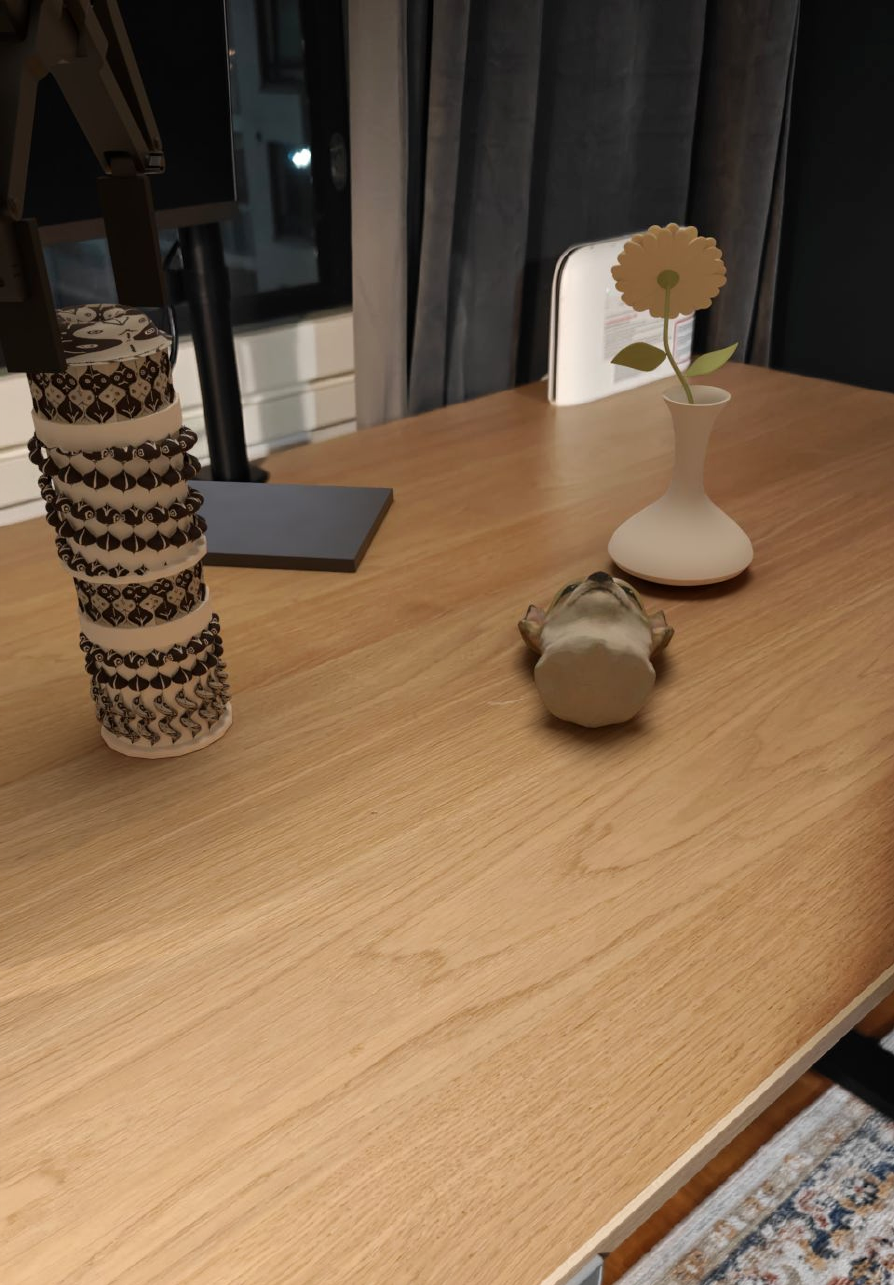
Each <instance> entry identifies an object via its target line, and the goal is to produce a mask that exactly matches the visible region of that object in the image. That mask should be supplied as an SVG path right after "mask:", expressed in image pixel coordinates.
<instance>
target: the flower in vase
mask: <svg viewBox="0 0 894 1285" xmlns="http://www.w3.org/2000/svg"><path fill="white" fill-rule="evenodd" d="M698 233H699V231H698V229H697V227H696V226H692V225H689V226H687V227H685V228H680V226H679V225H678V224H677V223H675V222H669V224H667V225H666V227H662V228H661V227H660V226H659V225H657V224H656V225H655V224H654V225H651V226H649V227H648V229H647V231H646V232H645V233H643V234H641V233H636V234H633V235H632V237H631V239H630V240H628V241H626V242H625V243H624V244H623V250H622V251H621V252H620V253H619V254H618V255H617V256H616V260H617V263H619V264H614V265H612V266H611V267H610V273H611V277H612V279H613V281H614V282H615V284H614V287H615V290H616V291H618V292H619V293H622V294H621V295H620V298H621V299H620V300H621V301H622V302H623V303H624V304H625V305H626V306H628V307H632V309H633V310H634V311H635V312H637V313H642V312H646V311H648V312H649V316H650V317H651V318H654V319H659V318H660V319H663V333H662V337H663V338H662V340H663V349H664V350H663V349H661V348H660V347H656V346H655V345H653V344H651V343H647V342H644V341H636V342H633V343H631V344H628V345H626V346H625V347H623V348H622V349H621V350H620V351H619V352H618V353H617V354H616V355H615V356H613V358H612V359H611V361H610V362H609V363H610V364H612V365H618V366H623V367H627V368H629V369H633V370H637V371H641V372H646V373H648V372H652V371H654V370H656V369H658V367H660V366H661V365H662V364H663V363H664V362H665V360H666V359H668V361H669V363H670V366H671V367H672V369H673V371H674V373H675V374H676V377H677V378H678V379H679V381H680V383H681V385H677V386H672V387H669V388H666V389H664V390H663V391H662V392H661V398H662V399H663V401H664V402H665V404H666V406H667V408H668V410H669V412H670V415H671V420H672V423H673V430H674V431H673V432H674V463H673V470H672V476H671V481H670V484H669V486H668V487H667V490H666V491H665V492H664V494H662V496H660V497H659V498H658V499H657V500H655V501H654V502H652V503H650V504H649V505H646V507H644V508H643V509H641V510H640V511H638V512H637V513H634V514H633V515H632V516H631V517H629V518H627V519H626V520H625V521H624V522H623V523H622V524H621V525H619V527H617V528H616V529H615V530H614V532H613V534H612V535H611V537H610V540H609V542H608V545H607V551H608V555H609V556H610V557H611V559H612V561H613V562H614V563H615V565H616V566H617V567H618V568H619V569H621V570H622V571H624V572H625V573H627V574H629V575H631V576H634V577H636V578H638V579H642V580H645V581H648V582H652V583H656V584H660V585H667V586H678V587H694V586H695V587H696V586H704V585H711V584H717V583H721V582H724V581H728V580H730V579H733V578H735V577H737V576H738V575H740V574H742V573H743V572H744V571H745V570H746V569H747V567H748V566H749V565H750V564H751V563H752V561H753V559H754V548H753V545H752V542H751V539H750V538H749V535H747V534H746V532H745V531H744V530H743V529H742V528H741V527H740V525H738V524H737V522H735V521H734V520H733V519H732V518H731V517H730V516H729V515H728V514H727V513H725V512H724V511H723V510H722V509H721V508H719V507H718V506H717V505H716V504H715V503H714V502H713V501H712V500H711V498H710V497H709V496H708V494H707V493H706V490H705V487H704V467H705V458H706V452H707V448H708V443H709V439H710V436H711V434H712V430H713V428H714V424H715V422H716V420H717V418H718V416H719V414H720V413H721V411H722V410H723V409H724V407H726V405H728V403H729V402H730V401H731V399H732V394H731V393H730V392H729V391H727V390H725V389H723V388H720V387H715V386H711V385H701V384H688V383H687V380H686V379H685V378H693V377H699V376H706V375H708V374H711V373H713V372H715V371H717V370H718V369H719V368H721V367H722V366H723V365H725V363H727V362H728V360H730V358H731V357H732V355H733V354H734V352H735V351H736V349H737V347H738V344H739V342H736V343H734V344H732V345H730V346H728V347H726V348H722V349H718V350H714V351H711V352H708V353H704V354H702V355H701V356H699V357H697V359H695V361H694V362H693V363H691V365H690V366H689V367H688V368H687V370H686V373H685V374H684V375H683V373H682V372H681V370H680V368H679V365H678V364H677V363H676V361H675V359H674V357H673V355H672V352H671V349H670V346H669V338H668V337H669V333H668V332H669V320H674V319H677V318H678V317H679V315H683V316H685V317H686V316H690V315H692V314H693V313H694V312H695V311H699V310H706V309H709V307H710V306H712V303H713V301H712V299H711V298H715V297H717V296H718V295H719V294H720V288H722V287H723V286H724V285H725V284H727V280H728V279H727V277H726V276H725V274H726V273H727V267H725V266H724V265H725V263H724V260H722V259H721V258H722V256H723V252H722V249H719V248H718V247H717V240H716V239H715V238H714V237H704V236H698Z"/></svg>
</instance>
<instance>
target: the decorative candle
mask: <svg viewBox="0 0 894 1285" xmlns="http://www.w3.org/2000/svg"><path fill="white" fill-rule="evenodd" d="M55 311H56V316H57V320H58V325H59V330H60V334H61V339H62V344H63V348H64V353H65V358H66V363H67V367H68V369H67V370H66V371H64V372H63V373H61V374H59V373H25V375H26V380H27V384H28V388H29V392H30V396H31V400H32V409H31V411H30V414H31V417H32V422H33V427H34V432H33V436H32V437H31V438H29V440H28V441H27V444H26V447H27V450H28V451H29V452H28V455H27V456H28V461H29V462H30V463H32V464H33V465H35V466H37V467H38V471H39V472H40V473H42V474H41V475H40V476H39V477H38V479H37V485H38V488H40V496H41V498H42V499H43V500H44V501H45V502H46V503H45V505H44V510H45V511H46V516H45V520H46V523H48V525H49V526H51V527H54V531H55V533H56V534H57V536H56V537H55V539H54V544H55V546H56V547H57V552H56V553H57V556H58V558H59V559H60V560H59V561H60V565H61V567H62V568H63V569H64V570H65V572H66V573H67V574H68V575H69V576H70V577H72V580H73V583H74V588H75V591H76V592H75V593H76V596H77V601H78V604H77V610H76V612H77V616H78V620H79V626H80V629H81V631H79V634H78V636H79V640H80V641H79V643H78V644H79V645H78V646H79V648H80V649H81V651H82V652H83V653H85V656H84V661H85V665H84V670H85V672H86V673H87V674H88V675H91V678H90V682H89V685H90V688H89V694H90V697H91V699H92V701H93V702H94V703H95V704H94V705H95V711H94V712H95V714H94V715H95V718H96V720H97V721H98V723H99V724H100V725H101V728H100V735H101V737H102V739H103V740H104V742H105V744H106V745H107V746H108V747H109V749H111V750H114V751H116V752H118V753H121V754H122V755H125V756H127V757H133V758H142V759H151V760H155V759H163V758H164V759H165V758H171V757H180V756H183V755H186V754H189V753H193V752H196V751H198V750H202V749H205V748H207V747H208V746H210V745H211V744H213V743H214V742H216V741H217V740H219V739H220V738H222V737H223V736H224V735H226V732H227V731H228V729H229V728H230V726H231V725H232V724H233V723H234V722H233V706H232V703H230V700H231V699H232V695H231V694H230V693H229V692H227V691H228V690H229V689H230V687H231V686H230V683H229V682H228V681H227V680H228V678H229V673H228V672H227V671H225V669H226V668H227V666H228V664H227V661H225V660H223V659H221V658H220V657H221V656H223V655H224V652H225V651H224V650H225V648H224V647H223V645H222V644H223V638H222V637H221V635H219V633H220V632H221V625H220V623H219V622H220V616H219V614H218V613H216V612H214V611H213V605H212V600H211V592H210V587H209V586H207V584H206V582H205V575H204V565H202V561H201V558H202V557H203V556H204V555H205V554H206V553H207V548H206V537H205V535H204V534H203V533H204V532H206V531H207V524H206V521H205V519H204V518H203V517H202V516H200V515H198V514H195V512H197V511H198V510H199V509H200V507H201V506H202V505H203V503H204V497H203V496H202V495H201V494H200V492H199V491H198V490H196V489H194V488H192V487H189V486H188V485H187V480H192V479H193V478H194V477H195V476H196V475H197V474H198V473H200V472H201V471H202V463H201V462H200V460H199V458H197V456H195V455H193V454H190V453H189V451H191V450H192V449H193V448H194V446H195V445H196V444H197V442H198V439H199V437H198V434H197V433H196V431H193V430H192V429H191V428H190V427H187V426H186V425H185V424H183V413H182V405H181V398H180V394H179V392H177V391H176V390H175V387H174V378H173V369H172V368H173V367H172V363H171V361H170V356H169V355H170V354H169V347H170V346H171V345H173V336H172V335H170V334H169V333H167V332H165V331H163V330H161V329H158V327H157V326H156V324H155V323H154V322H153V321H152V319H151V318H150V317H149V315H147V314H146V313H145V312H144V311H142V310H140V309H138V308H137V307H131V306H126V305H120V304H119V303H91V304H90V303H89V304H88V303H87V304H80V305H72V306H66V307H62V308H58V309H55ZM42 449H45V452H46V457H44V455H43V453H42Z"/></svg>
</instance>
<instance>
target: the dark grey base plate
mask: <svg viewBox="0 0 894 1285" xmlns="http://www.w3.org/2000/svg"><path fill="white" fill-rule="evenodd" d="M187 485H188V486H189V487H192V488H194V489H196V490H198V491H199V492H200V494H201V495H202V496H203V497H204V503H203V505H202V506H201V507H200V509H199V510H198V511H197V512H195V514H198V515H200V516H202V517H203V518H204V519H205V521H206V524H207V531H206V532H204V533H203V534H204V535H205V537H206V548H207V553H206V554H205V555H204V556H203V557H202V558H201V561H202V565H203V566H209V567H210V566H212V567H230V568H231V567H233V568H251V569H253V568H254V569H269V570H270V569H272V570H273V569H274V570H292V571H293V570H294V571H310V572H311V571H312V572H334V573H351V574H352V573H356V572H357V570H358V568H359V566H360V564H361V562H362V561H363V558H364V557H365V555H366V553H367V551H368V549H369V547H370V546H371V544H372V542H373V540H374V538H375V536H376V534H377V532H378V531H379V528H380V527H381V525H382V523H383V521H384V519H385V517H386V516H387V513H388V511H389V510H390V508H391V506H392V504H393V502H394V501H395V500H394V488H393V487H374V486H372V487H370V486H349V485H348V486H345V485H319V484H317V485H316V484H295V483H294V484H293V483H268V482H267V483H266V482H240V481H215V480H214V481H213V480H212V481H211V480H193V479H189V480H187Z"/></svg>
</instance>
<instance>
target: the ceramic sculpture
mask: <svg viewBox="0 0 894 1285" xmlns="http://www.w3.org/2000/svg"><path fill="white" fill-rule="evenodd" d="M517 627H518V631H519V633H520V635H521V638H522V640H523V641H524V643H525V644H526V646H528V647H529V648H530V649H532V650H533V651H534V652H536V653H537V654H538V655H540V656H541V657H539V659H538V662H537V663H536V665H535V666H534V670H533V672H534V674H533V675H534V676H533V677H534V681H535V686H536V688H537V691H538V694H539V696H540V698H541V700H542V702H543V704H544V705H545V706H546V708H547V710H548V711H549V712H550V713H551V714H552V715H553V716H554V717H555V718H558V719H560V720H562V721H566V722H571V723H574V724H576V725H579V726H582V727H585V728H590V729H591V728H593V729H596V728H599V727H605V726H609V725H613V724H621V723H624V722H627V721H628V720H631V719H632V718H634V717H635V715H636V714H638V713H639V711H640V710H641V709H642V708H643V707H644V706H645V704H646V702H647V701H648V699H649V697H650V695H651V693H652V690H653V689H654V686H655V683H656V678H657V675H656V670H655V669H654V666H653V664H652V662H651V661H650V660H651V659H653V658H655V657H656V656H658V655H660V653H663V651H665V649H666V648H668V647H669V644H670V642H672V639H673V637H674V634H675V629H674V627H672V626H670V625H668V623H667V620H666V615H665V612H664V610H663V609H660V610H658V611H656V612H655V613H652V614H649V615H648V613H647V610H646V608H645V605H644V601H643V599H642V597H641V595H640V593H639V592H638V591H637V590H636V588H635V587H633V586H632V585H631V584H630V583H629V582H627V581H625V580H623V579H621V578H618V577H613V576H611V574H609V573H607V572H605V571H602V570H599V571H595V572H592V573H591V574H590V575H588V576H579V577H576V578H573V579H572V580H570V581H568V582H567V583H565V584H563V585H562V586H561V587H560V588H559V589H558V590H557V592H556V593H555V595H554V597H553V599H552V601H551V603H550V605H549V607H548V609H547V610H543V609H541V608H538V607H536V605H534V604H532V603H531V604H529V605H528V608H527V611H526V614H525V617H523V619H520V620H519V621H518V623H517Z"/></svg>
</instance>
